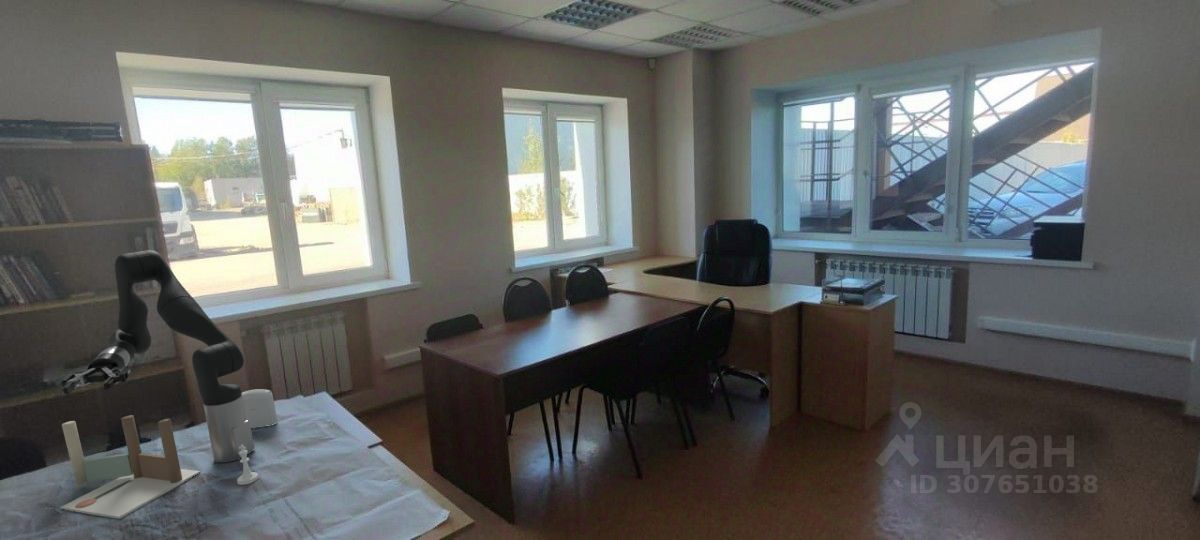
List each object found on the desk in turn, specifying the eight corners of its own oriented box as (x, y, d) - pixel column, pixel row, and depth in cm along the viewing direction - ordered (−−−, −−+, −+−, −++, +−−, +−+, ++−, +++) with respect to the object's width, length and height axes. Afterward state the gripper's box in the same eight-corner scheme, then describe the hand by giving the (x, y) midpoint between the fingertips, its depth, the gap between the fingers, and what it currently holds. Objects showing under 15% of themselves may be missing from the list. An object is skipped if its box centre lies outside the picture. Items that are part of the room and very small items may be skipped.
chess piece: (248, 485, 146) (242, 450, 144) (232, 484, 147) (226, 449, 145) (263, 475, 150) (257, 440, 149) (247, 474, 151) (241, 439, 150)
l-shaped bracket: (135, 472, 153) (122, 414, 150) (130, 477, 151) (117, 418, 147) (80, 480, 150) (65, 421, 147) (73, 486, 147) (59, 426, 144)
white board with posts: (200, 473, 153) (188, 413, 150) (119, 518, 134) (104, 451, 130) (145, 466, 158) (133, 408, 155) (60, 509, 139) (44, 444, 136)
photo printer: (239, 431, 178) (233, 394, 176) (245, 425, 182) (239, 389, 180) (274, 427, 180) (268, 390, 177) (279, 421, 184) (273, 385, 181)
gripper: (76, 355, 164) (49, 380, 150) (136, 349, 169) (115, 373, 155) (82, 378, 166) (56, 405, 152) (141, 371, 171) (121, 397, 157)
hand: (86, 389), depth 153 cm, fingers open, 8 cm apart
